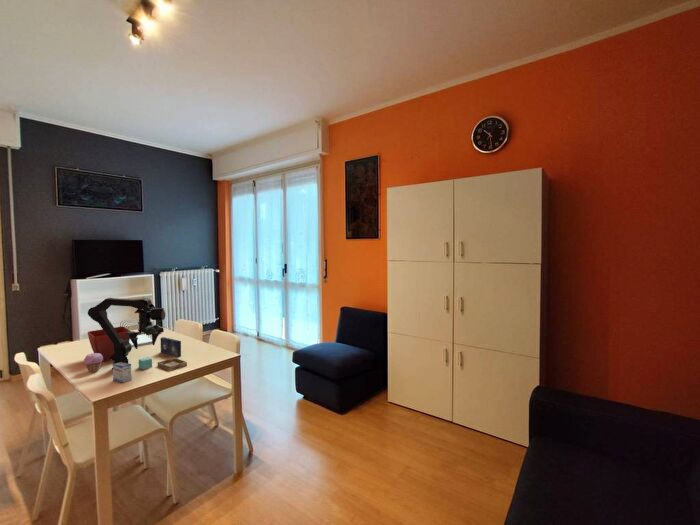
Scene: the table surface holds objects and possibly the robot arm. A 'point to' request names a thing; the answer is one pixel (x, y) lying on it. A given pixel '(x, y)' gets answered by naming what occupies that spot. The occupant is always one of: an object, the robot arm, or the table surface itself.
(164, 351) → the vhs cassette tape
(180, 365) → the tray
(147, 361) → the cube
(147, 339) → the file sorter
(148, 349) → the table surface
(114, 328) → the robot arm
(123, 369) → the medicine box
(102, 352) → the plant pot
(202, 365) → the table surface
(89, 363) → the cupcake
